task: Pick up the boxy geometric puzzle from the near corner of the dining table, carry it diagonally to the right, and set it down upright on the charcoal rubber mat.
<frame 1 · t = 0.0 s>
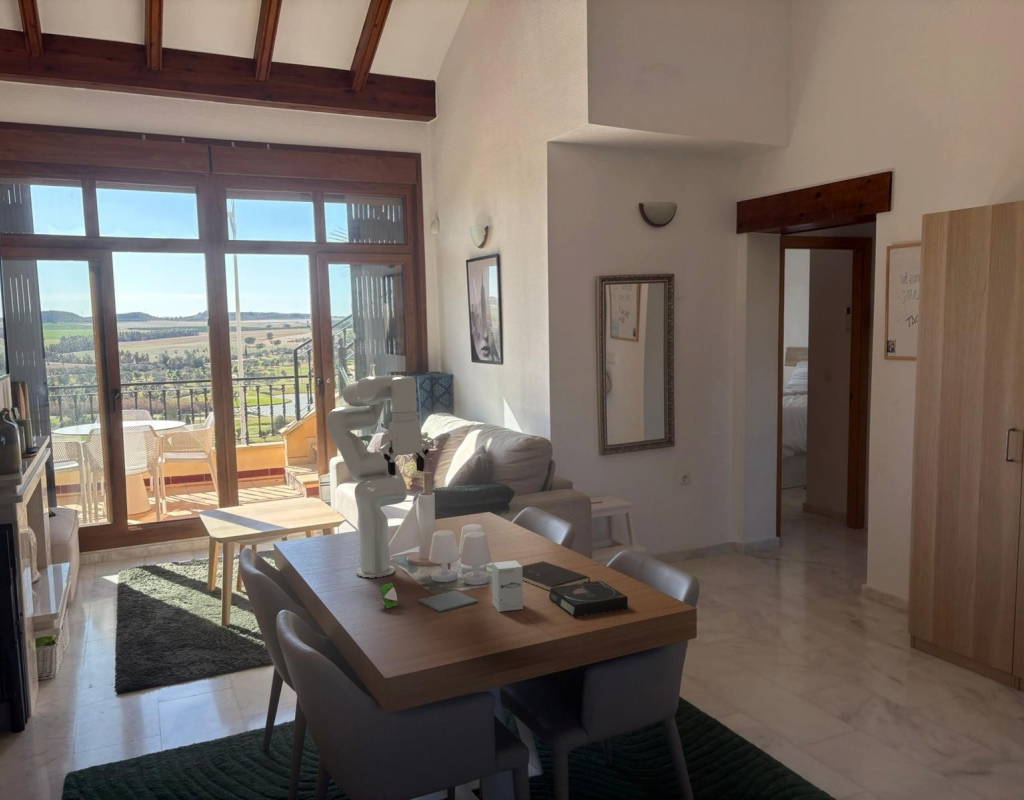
hand: (406, 472, 244), 37 cm above the table, tool pointing down, fingers open, 9 cm apart
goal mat: (447, 602, 235), on the table
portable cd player: (587, 606, 230), on the table
supplement box: (507, 607, 229), on the table
geometric puzzle: (389, 606, 232), on the table
hardcover book: (547, 580, 256), on the table
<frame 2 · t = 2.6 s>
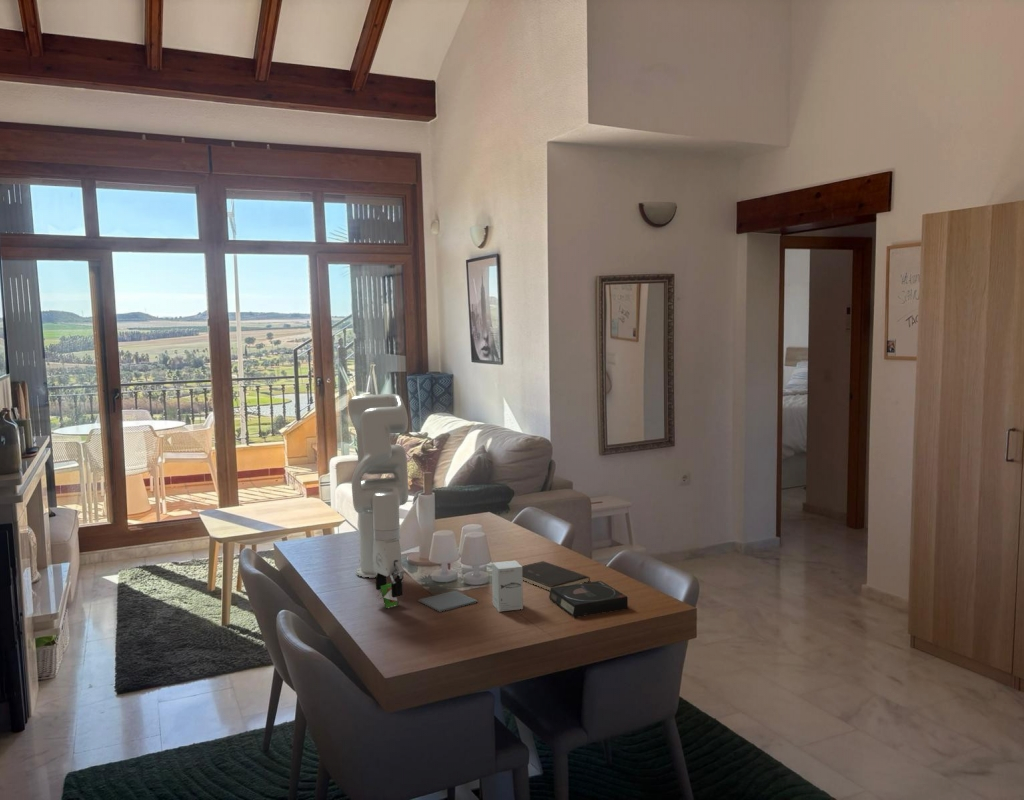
hand: (389, 592, 231), 4 cm above the table, tool pointing down, fingers open, 9 cm apart
geometric puzzle: (389, 607, 232), on the table, touching gripper
everything else where it was.
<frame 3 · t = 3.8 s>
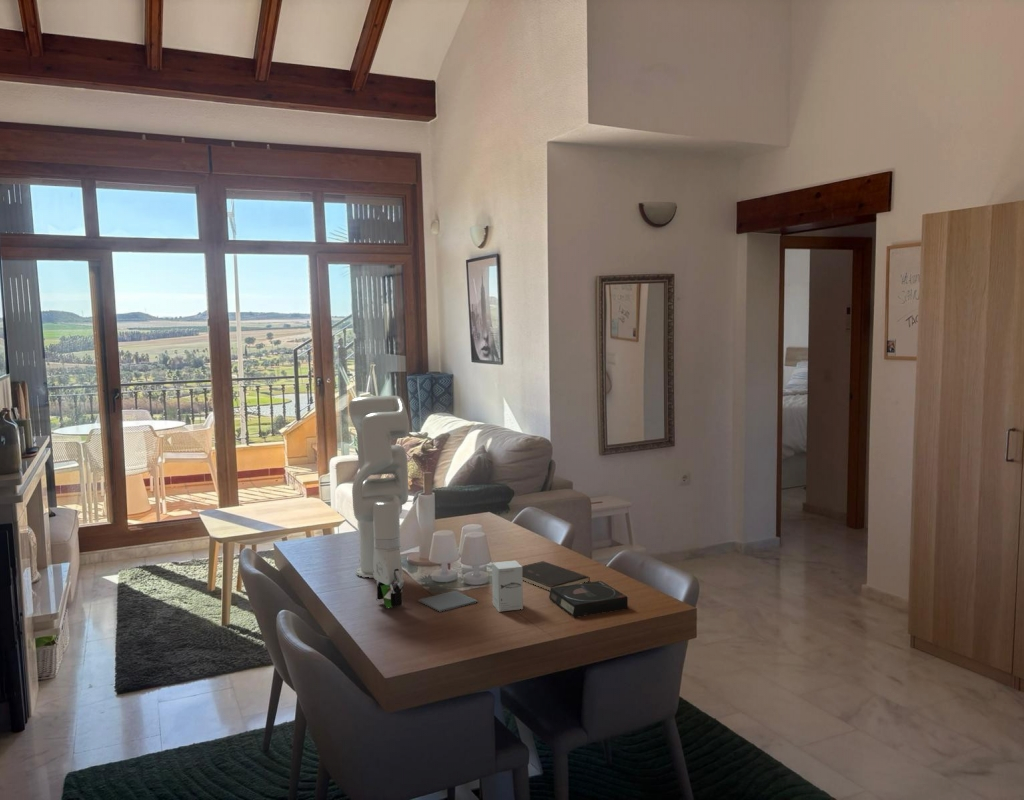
hand: (389, 601, 232), 1 cm above the table, tool pointing down, fingers closed on geometric puzzle, 8 cm apart
geometric puzzle: (389, 607, 232), on the table, touching gripper
everything else where it was.
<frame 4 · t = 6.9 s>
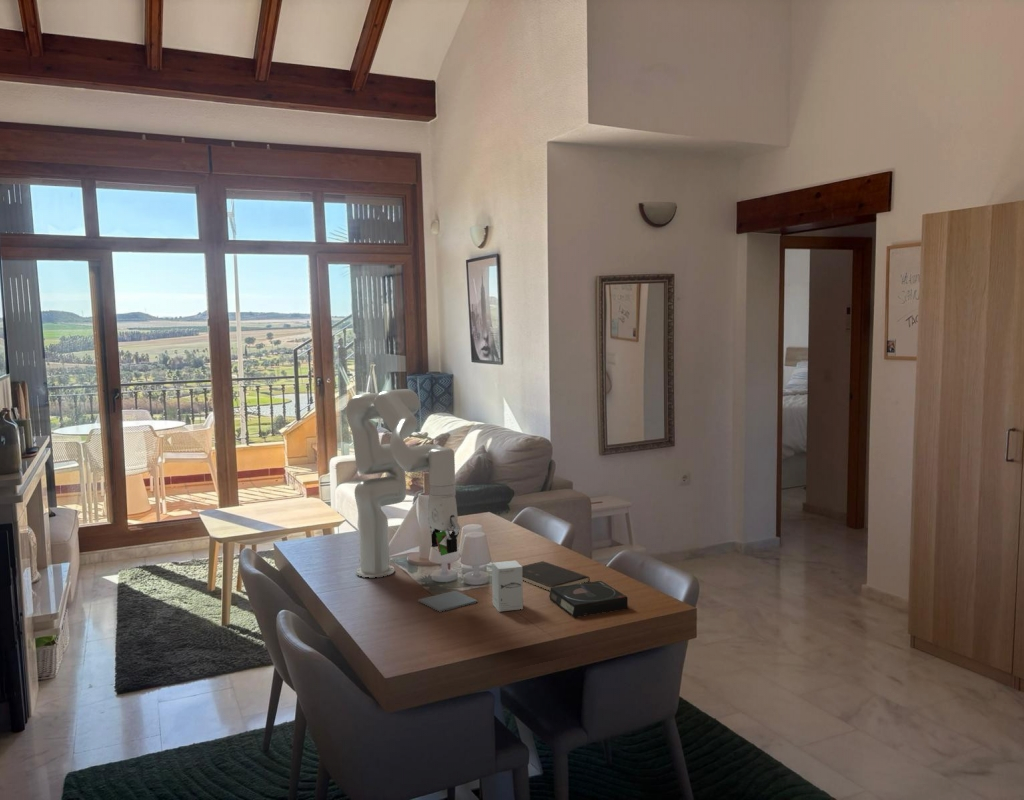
hand: (444, 548, 234), 16 cm above the table, tool pointing down, fingers closed on geometric puzzle, 8 cm apart
geometric puzzle: (444, 554, 234), point 14 cm above the table, touching gripper
everything else where it was.
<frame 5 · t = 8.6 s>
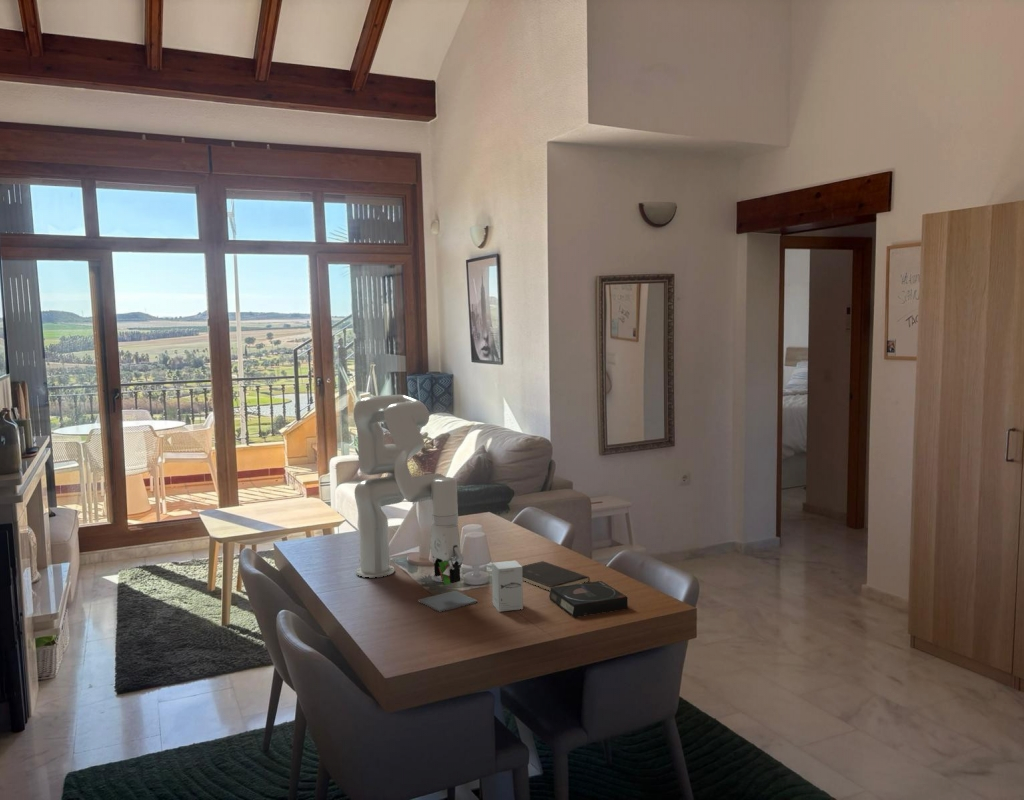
hand: (447, 578, 234), 7 cm above the table, tool pointing down, fingers closed on geometric puzzle, 8 cm apart
geometric puzzle: (447, 583, 234), point 6 cm above the table, touching gripper
everything else where it was.
when the fingers open (3 cm above the table, at t = 10.1 s): geometric puzzle stays where it is, resting on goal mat.
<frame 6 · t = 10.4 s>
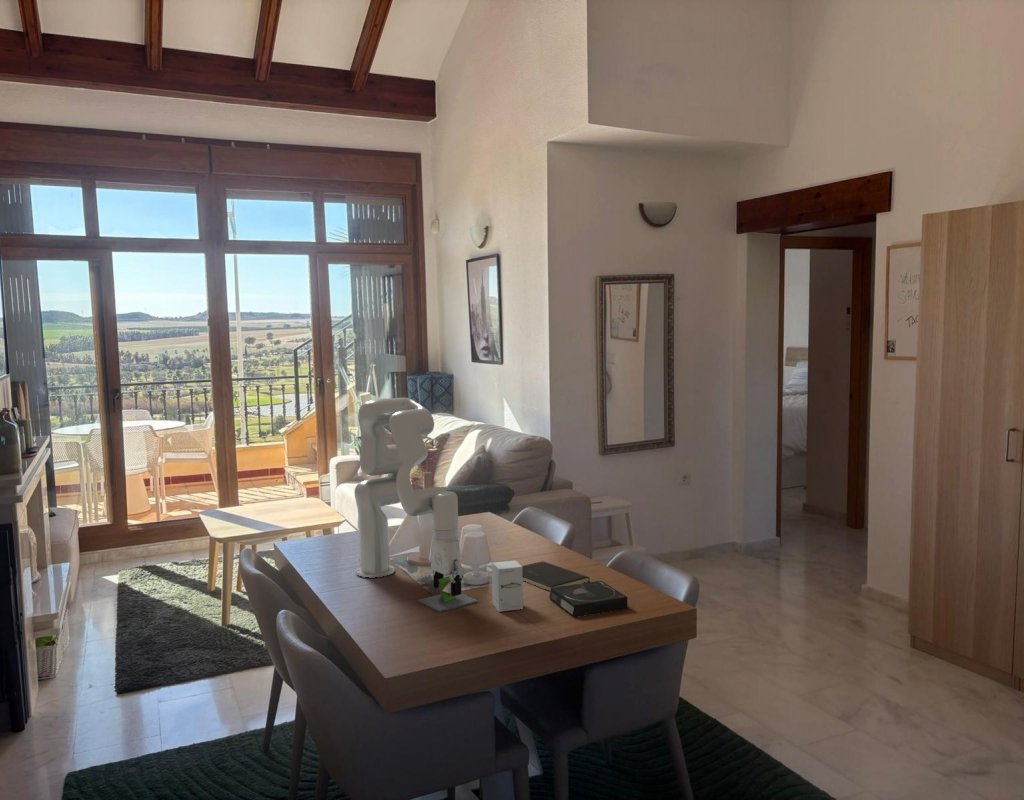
hand: (447, 591, 235), 3 cm above the table, tool pointing down, fingers open, 9 cm apart
geometric puzzle: (447, 600, 235), resting on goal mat
everything else where it was.
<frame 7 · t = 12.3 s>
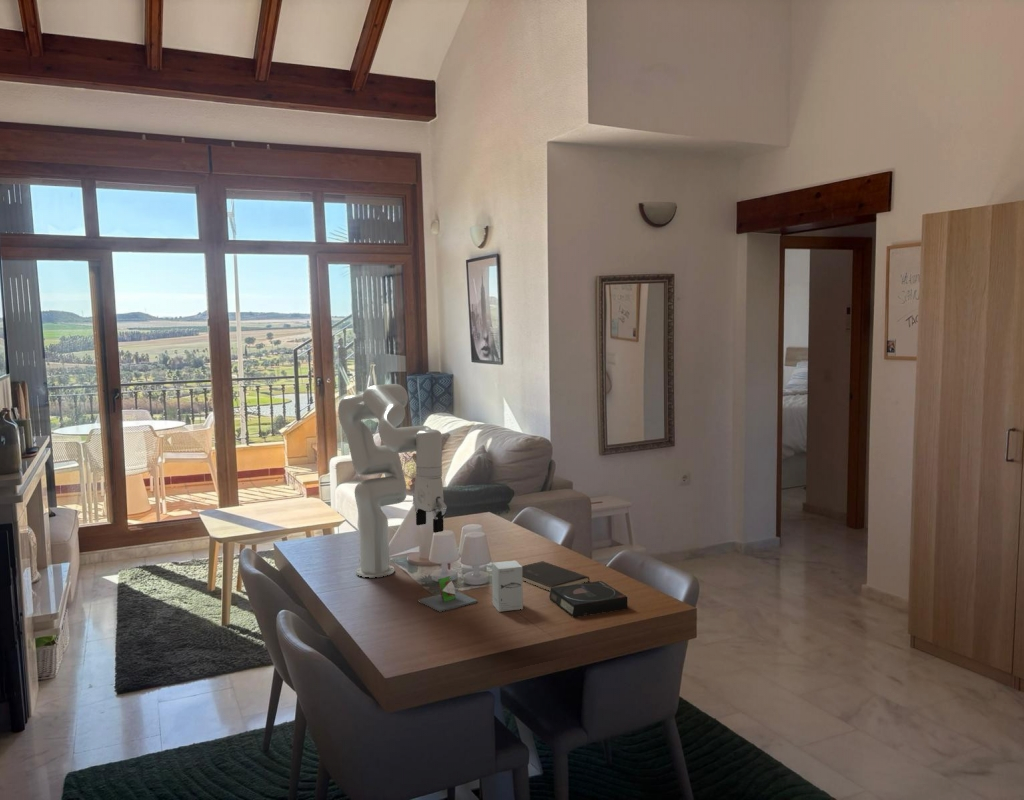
hand: (429, 528, 237), 21 cm above the table, tool pointing down, fingers open, 9 cm apart
nothing on the table moved.
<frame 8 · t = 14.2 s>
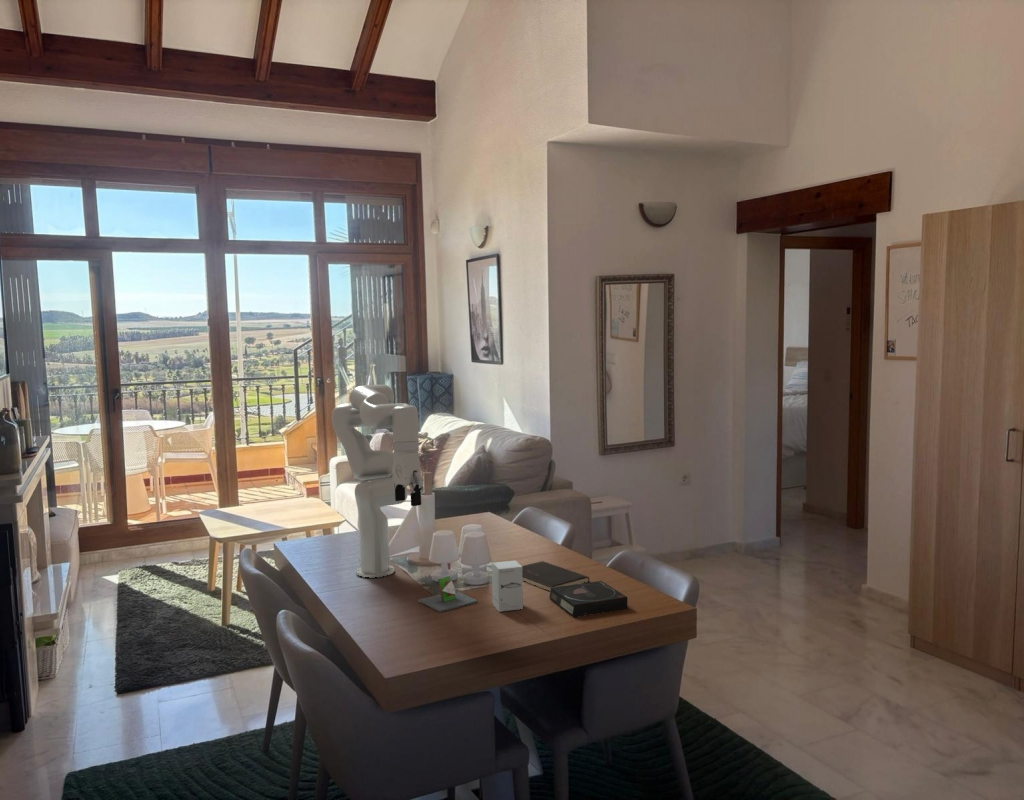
hand: (408, 503, 240), 28 cm above the table, tool pointing down, fingers open, 9 cm apart
nothing on the table moved.
at the end: geometric puzzle inside the target area on the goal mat (0.4 cm from its centre), point 0.4 cm above the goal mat's base; geometric puzzle tilted 0°; the gripper is holding nothing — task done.
